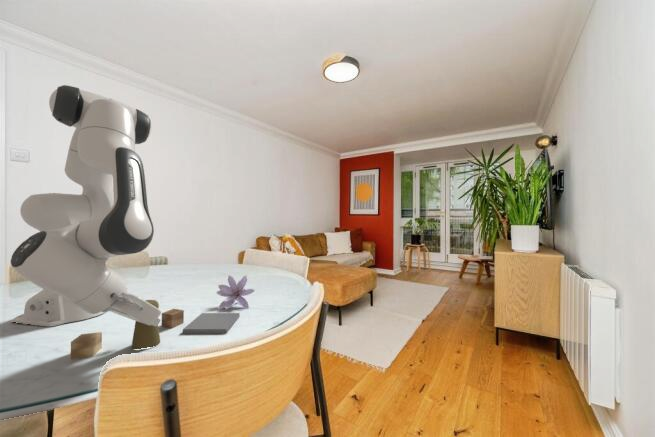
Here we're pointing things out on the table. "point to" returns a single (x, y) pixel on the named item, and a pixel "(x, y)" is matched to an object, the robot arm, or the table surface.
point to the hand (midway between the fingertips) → (149, 320)
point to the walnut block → (172, 318)
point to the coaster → (212, 323)
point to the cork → (146, 333)
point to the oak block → (86, 345)
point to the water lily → (234, 293)
